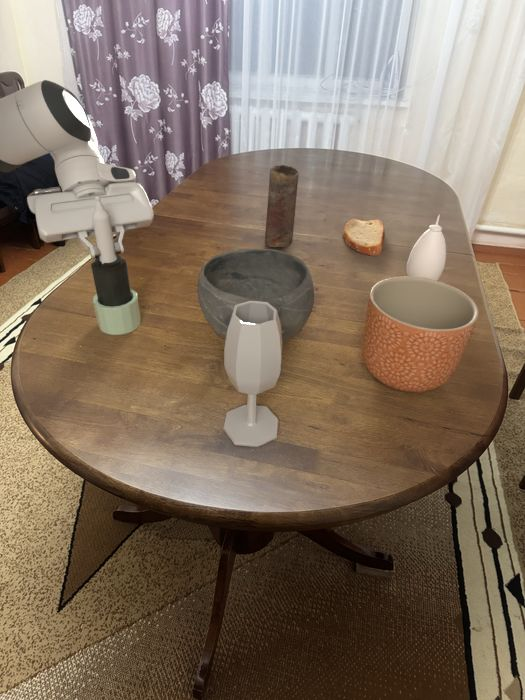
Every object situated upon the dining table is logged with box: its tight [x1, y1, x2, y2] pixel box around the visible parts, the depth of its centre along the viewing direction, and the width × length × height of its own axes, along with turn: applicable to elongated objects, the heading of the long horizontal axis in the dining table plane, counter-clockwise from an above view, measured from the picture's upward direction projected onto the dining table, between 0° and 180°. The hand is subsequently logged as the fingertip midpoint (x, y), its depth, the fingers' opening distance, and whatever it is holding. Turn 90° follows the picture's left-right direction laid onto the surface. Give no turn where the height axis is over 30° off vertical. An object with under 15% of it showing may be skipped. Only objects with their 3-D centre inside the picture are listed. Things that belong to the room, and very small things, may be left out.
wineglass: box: [222, 301, 284, 448], centre depth 66 cm, size 9×9×21 cm
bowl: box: [197, 248, 315, 344], centre depth 87 cm, size 21×21×15 cm
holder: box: [92, 288, 142, 336], centre depth 92 cm, size 8×8×6 cm
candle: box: [90, 196, 132, 307], centre depth 85 cm, size 5×5×25 cm
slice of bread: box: [342, 218, 386, 257], centre depth 131 cm, size 18×18×4 cm
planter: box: [361, 275, 480, 393], centre depth 79 cm, size 17×17×15 cm
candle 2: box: [264, 164, 300, 249], centre depth 120 cm, size 8×7×20 cm
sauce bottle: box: [405, 214, 447, 281], centre depth 104 cm, size 8×8×18 cm
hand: (108, 255), depth 84 cm, fingers closed on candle, 3 cm apart
